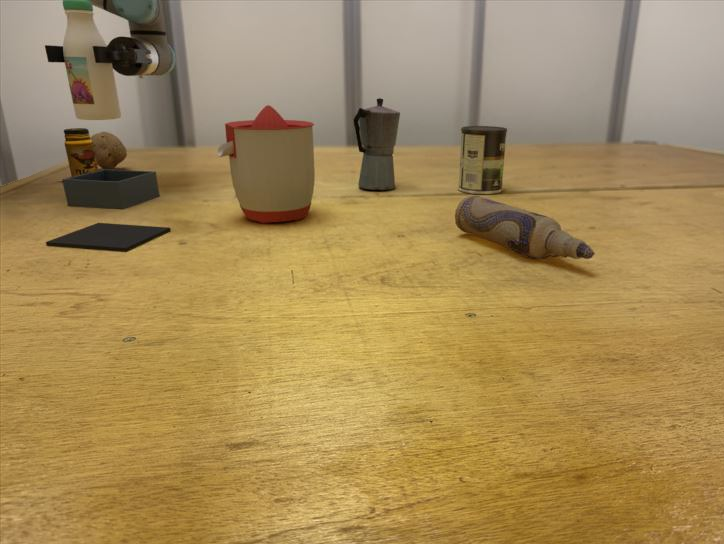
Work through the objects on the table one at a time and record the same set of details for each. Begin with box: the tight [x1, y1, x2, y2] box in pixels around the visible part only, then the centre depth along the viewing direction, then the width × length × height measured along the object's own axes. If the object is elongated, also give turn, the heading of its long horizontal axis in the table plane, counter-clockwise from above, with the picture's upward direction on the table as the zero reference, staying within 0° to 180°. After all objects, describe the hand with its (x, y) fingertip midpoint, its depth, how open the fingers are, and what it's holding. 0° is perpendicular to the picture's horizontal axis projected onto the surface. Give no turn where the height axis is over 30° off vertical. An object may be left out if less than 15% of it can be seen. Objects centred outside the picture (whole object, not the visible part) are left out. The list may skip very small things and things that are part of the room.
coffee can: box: [457, 125, 508, 195], centre depth 127 cm, size 10×10×14 cm
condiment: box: [58, 127, 100, 182], centre depth 134 cm, size 7×8×12 cm
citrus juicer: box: [216, 104, 316, 224], centre depth 100 cm, size 16×17×20 cm
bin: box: [61, 169, 161, 210], centre depth 114 cm, size 12×12×5 cm
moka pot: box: [353, 97, 401, 191], centre depth 126 cm, size 10×15×20 cm, turn 149°
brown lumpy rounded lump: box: [90, 131, 128, 170], centre depth 146 cm, size 9×9×10 cm
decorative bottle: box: [454, 194, 596, 260], centre depth 85 cm, size 26×8×7 cm, turn 33°
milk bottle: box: [62, 0, 122, 121], centre depth 101 cm, size 8×8×20 cm
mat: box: [45, 222, 172, 253], centre depth 90 cm, size 14×12×1 cm
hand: (72, 54), depth 96 cm, fingers closed on milk bottle, 8 cm apart
